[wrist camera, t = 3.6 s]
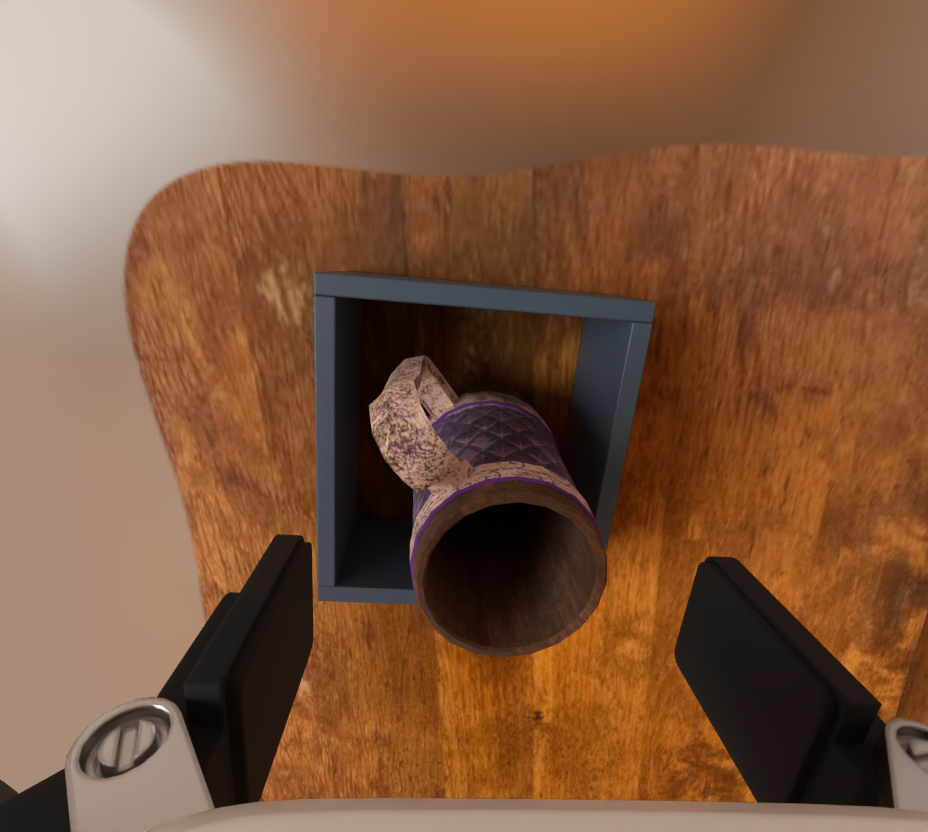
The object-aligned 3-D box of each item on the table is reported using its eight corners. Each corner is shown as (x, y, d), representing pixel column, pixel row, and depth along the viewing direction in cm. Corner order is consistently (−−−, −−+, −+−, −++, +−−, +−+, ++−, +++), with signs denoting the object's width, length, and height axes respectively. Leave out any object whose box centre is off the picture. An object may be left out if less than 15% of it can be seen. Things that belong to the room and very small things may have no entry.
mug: (566, 463, 26) (668, 619, 14) (456, 522, 26) (468, 716, 15) (475, 298, 23) (510, 329, 11) (354, 371, 23) (272, 468, 12)
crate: (343, 528, 26) (316, 601, 20) (346, 270, 22) (312, 271, 16) (561, 539, 27) (594, 611, 21) (603, 293, 23) (658, 301, 17)
